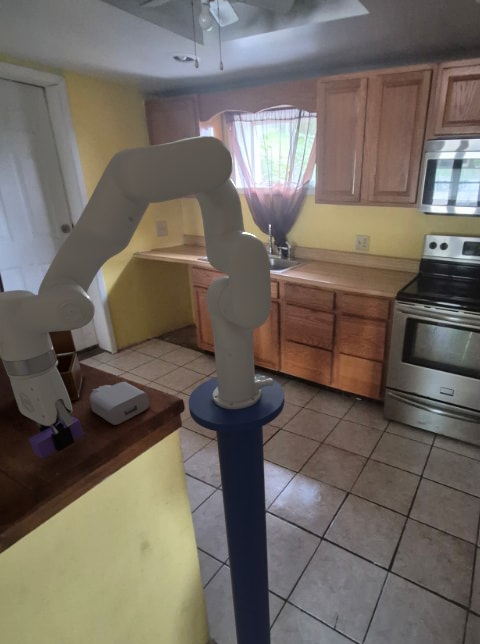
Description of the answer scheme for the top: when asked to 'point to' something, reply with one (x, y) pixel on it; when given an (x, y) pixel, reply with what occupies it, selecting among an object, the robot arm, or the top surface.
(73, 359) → the chest
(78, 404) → the top surface
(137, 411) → the charger
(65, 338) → the lid
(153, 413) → the top surface
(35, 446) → the purple rectangular block
